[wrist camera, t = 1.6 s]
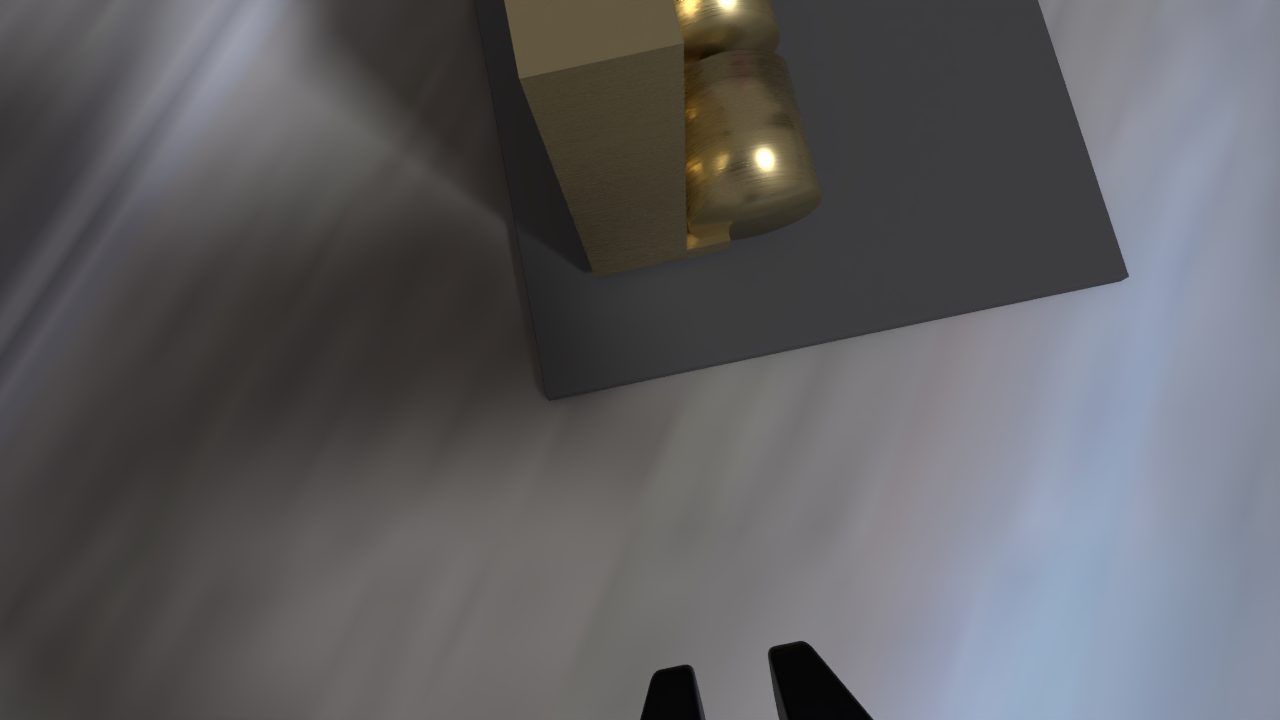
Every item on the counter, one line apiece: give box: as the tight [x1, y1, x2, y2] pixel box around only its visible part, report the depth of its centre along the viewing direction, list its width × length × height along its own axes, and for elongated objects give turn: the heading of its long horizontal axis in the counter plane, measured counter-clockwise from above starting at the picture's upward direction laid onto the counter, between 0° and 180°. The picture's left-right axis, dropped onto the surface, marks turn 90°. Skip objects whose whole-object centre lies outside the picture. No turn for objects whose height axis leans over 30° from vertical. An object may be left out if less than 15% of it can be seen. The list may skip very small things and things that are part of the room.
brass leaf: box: [504, 0, 822, 278], centre depth 18 cm, size 8×6×10 cm
